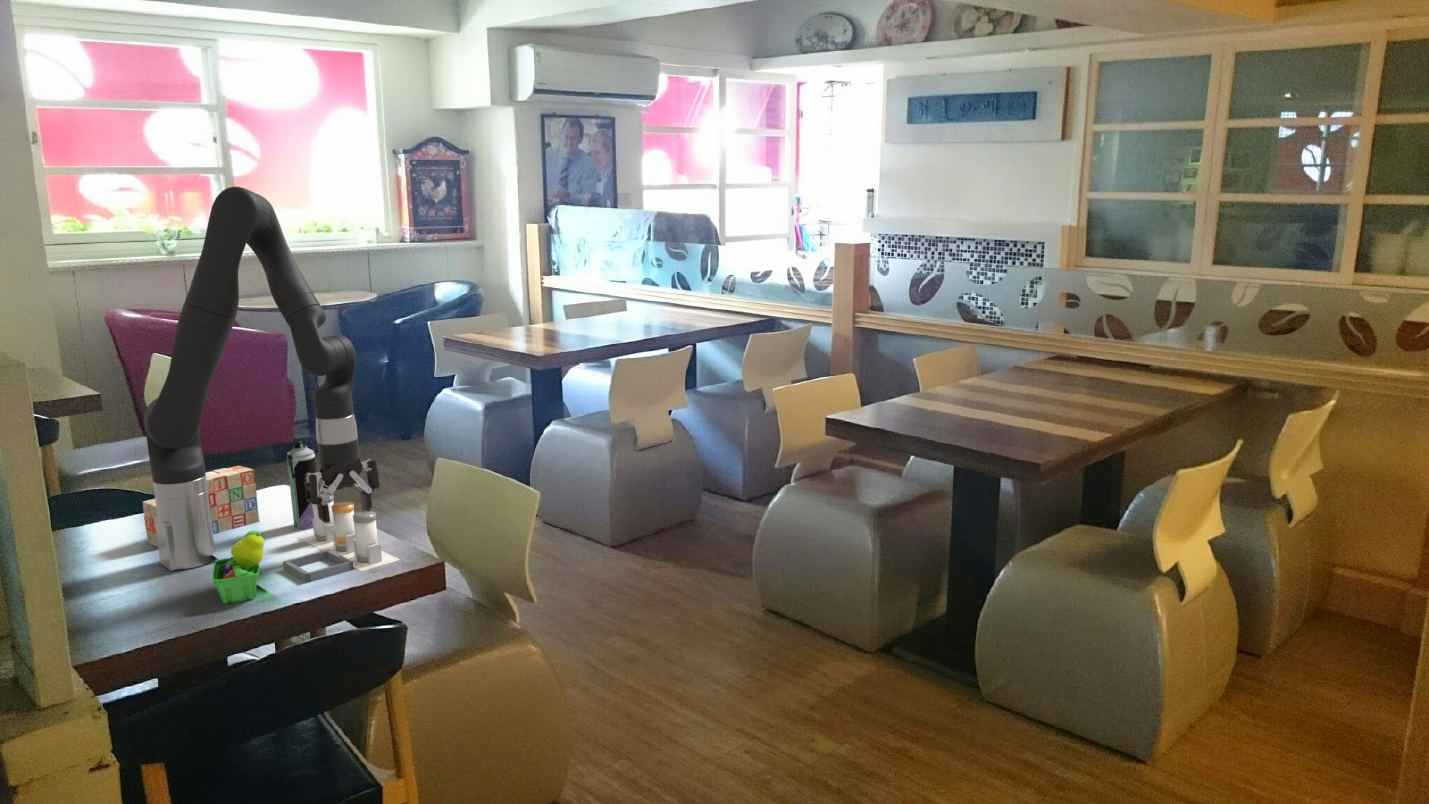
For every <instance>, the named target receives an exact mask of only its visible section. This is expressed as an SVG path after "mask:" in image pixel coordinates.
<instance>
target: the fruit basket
mask: <svg viewBox="0 0 1429 804" xmlns="http://www.w3.org/2000/svg"><path fill="white" fill-rule="evenodd" d="M264 545H265V539H264V538H263V537H262V535H261V533H260V532H259V531H258V530H250V531H247V533H246V534H245V535H244V537H243V538H242V539H240V540H239V541H237V542H236V543H235V544H234V545H233V546H232V547H231V549H230V554H231V555H232V556H230V557H228V558H227V557H226V558H223V559H217V560H216V561H215V560H214V564H213V565H214V567H213V571H212V577H211V581H212V582H213V584H214V586H215V587H216V589H217V592H218V594H219V597H220V599H221V602H222V603H223V604H224V603H226V604H228V603H227V602H230V603H239V602H242V601H247V600H254V599H255V598H256V592H257V584H258V578H259V576H260V563H261V562H262V560H263V558H264V553H265V552H264Z"/></svg>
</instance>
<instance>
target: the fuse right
mask: <svg viewBox="0 0 1429 804" xmlns="http://www.w3.org/2000/svg"><path fill="white" fill-rule="evenodd" d="M353 522H354V528H355V539H356V550H357V555H356V556H357V561H358V562H360V563H368V553H367V546H370V545H374V544H377V543H379V542H378V541H379V540H378V539H379V538H378V531H377V513H376V512H375V511H371V510H370V511H359V512H356V513H354V515H353Z"/></svg>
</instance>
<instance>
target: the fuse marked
mask: <svg viewBox="0 0 1429 804" xmlns="http://www.w3.org/2000/svg"><path fill="white" fill-rule="evenodd" d="M332 512H333V521H334V531H335V542H336V544H335V547H336V551H339V552H347V550H346V540H345V536H346V535H350V534H353V533H355V528H354V522H353V515H354V514H355V503H354V502H352V501H342V502H336V503H334V504H333V505H332Z"/></svg>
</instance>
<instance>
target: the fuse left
mask: <svg viewBox="0 0 1429 804" xmlns="http://www.w3.org/2000/svg"><path fill="white" fill-rule="evenodd" d="M334 499H335V498H334V494H333V495H332V496H331V497H330V498H329V500H328V502H327V504H328V507H329V516H330V522H328V523H325V522H323V521H322V520H320V519H319V516H318V508H317V504H315V505H314V504H313V512H314V522H315V531H316V534H315V537H316V540H317V541H326V534H325V525H329V524H333V523H334V521H333V512H332V505H333V504H335V503H334Z"/></svg>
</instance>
